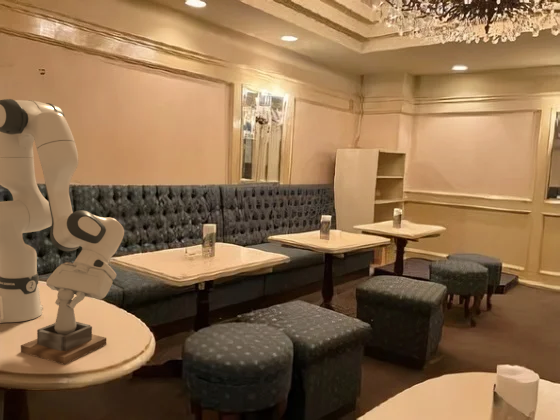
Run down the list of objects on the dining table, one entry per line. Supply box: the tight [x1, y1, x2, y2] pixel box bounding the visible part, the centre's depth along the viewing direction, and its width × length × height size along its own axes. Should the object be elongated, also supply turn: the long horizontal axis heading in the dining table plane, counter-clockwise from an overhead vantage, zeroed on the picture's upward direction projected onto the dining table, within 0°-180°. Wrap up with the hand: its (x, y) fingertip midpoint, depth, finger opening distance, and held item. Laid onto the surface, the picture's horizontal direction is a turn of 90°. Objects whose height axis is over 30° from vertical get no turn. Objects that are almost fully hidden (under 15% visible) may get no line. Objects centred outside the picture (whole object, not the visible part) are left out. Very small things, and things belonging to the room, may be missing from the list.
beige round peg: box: [54, 289, 77, 336], centre depth 140 cm, size 6×6×13 cm
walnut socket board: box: [20, 321, 107, 365], centre depth 141 cm, size 16×16×6 cm
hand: (64, 305), depth 139 cm, fingers closed on beige round peg, 3 cm apart
